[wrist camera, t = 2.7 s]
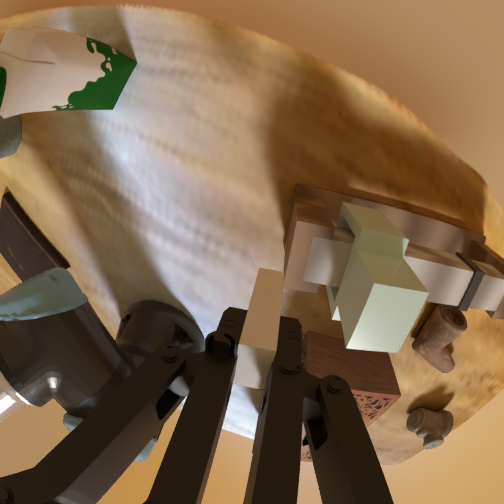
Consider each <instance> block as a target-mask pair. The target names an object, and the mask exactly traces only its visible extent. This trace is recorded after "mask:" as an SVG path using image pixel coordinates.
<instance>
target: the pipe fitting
mask: <svg viewBox="0 0 504 504" xmlns="http://www.w3.org/2000/svg"><path fill="white" fill-rule="evenodd" d="M406 425H407V429H408V430H409V431H412V432H416V435H417V437H419V438H423V439H424V443H423V448H424V449H432V448H435V447H438V446H440V445H441V444H442V443H443V442H444V440H443V438H444V437H446V436H447V435H448V434H449V432H450V431H451V429H452V427H453V415H452V413H451V412H449V411H446V410H439V411H437V412H434V411H431V410H427V409H424V408H416V409H415V410H413V411H412V412H411V413H410V415H409V417H408V419H407V424H406Z"/></svg>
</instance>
